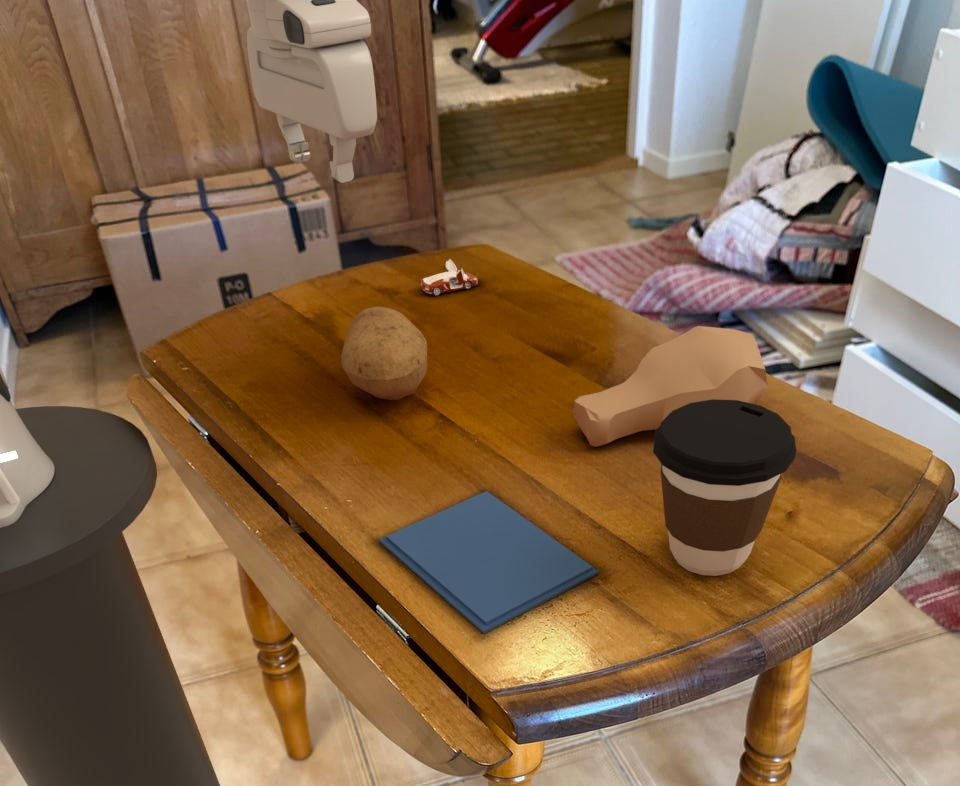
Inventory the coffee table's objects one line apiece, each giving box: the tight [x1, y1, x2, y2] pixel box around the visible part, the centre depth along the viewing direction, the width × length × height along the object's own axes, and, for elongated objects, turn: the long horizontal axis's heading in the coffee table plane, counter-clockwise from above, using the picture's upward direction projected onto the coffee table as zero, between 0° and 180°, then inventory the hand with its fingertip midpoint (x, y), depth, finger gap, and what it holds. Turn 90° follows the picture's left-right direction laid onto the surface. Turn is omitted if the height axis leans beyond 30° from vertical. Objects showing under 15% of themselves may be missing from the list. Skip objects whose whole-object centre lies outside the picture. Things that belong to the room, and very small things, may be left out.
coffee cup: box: [652, 399, 797, 577], centre depth 75 cm, size 11×11×12 cm
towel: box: [378, 490, 599, 635], centre depth 81 cm, size 12×16×1 cm
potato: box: [340, 306, 428, 401], centre depth 102 cm, size 10×14×8 cm
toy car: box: [419, 258, 479, 297], centre depth 125 cm, size 5×8×3 cm, turn 110°
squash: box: [572, 325, 768, 448], centre depth 93 cm, size 11×20×9 cm, turn 109°
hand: (321, 170), depth 96 cm, fingers open, 8 cm apart
